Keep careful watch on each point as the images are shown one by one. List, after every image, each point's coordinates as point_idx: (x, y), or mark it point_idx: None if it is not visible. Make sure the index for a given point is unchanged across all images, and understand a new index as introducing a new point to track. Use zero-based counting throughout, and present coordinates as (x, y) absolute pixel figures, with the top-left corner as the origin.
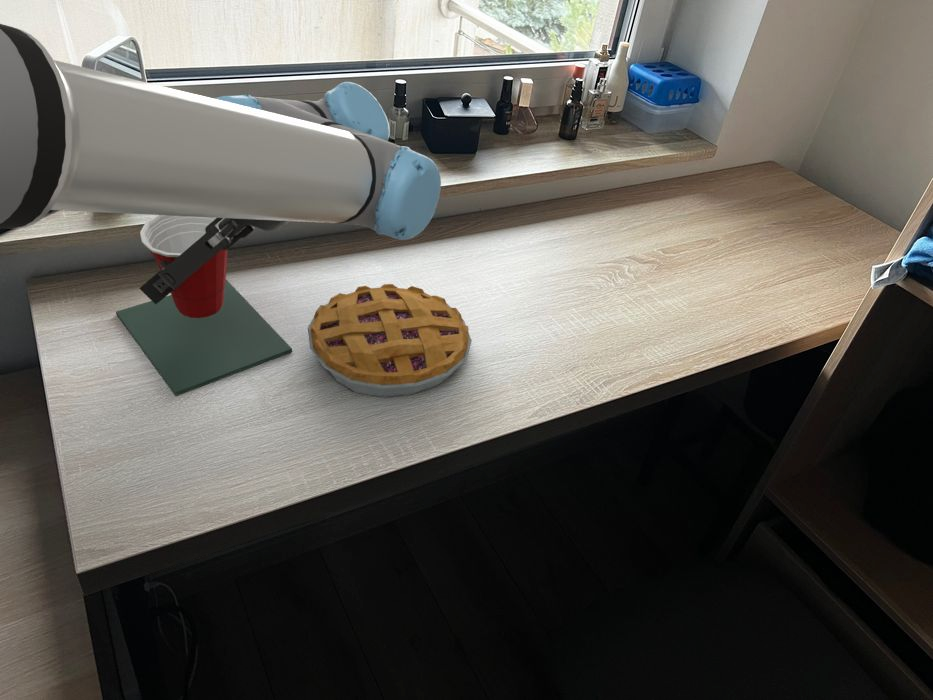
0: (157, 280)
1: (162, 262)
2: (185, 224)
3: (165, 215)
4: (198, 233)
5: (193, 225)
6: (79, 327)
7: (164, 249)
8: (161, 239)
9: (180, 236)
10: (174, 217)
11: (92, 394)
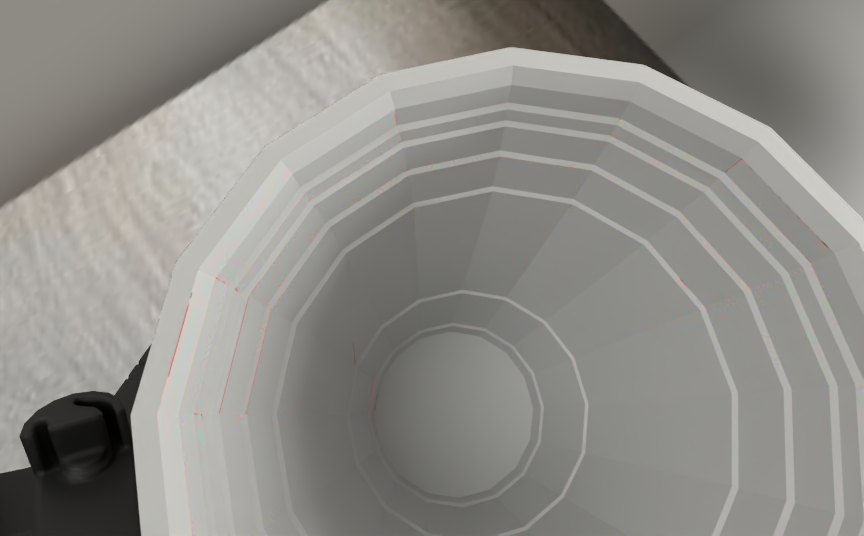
0: (131, 372)
1: (23, 441)
2: (710, 257)
3: (674, 121)
4: (705, 343)
5: (737, 303)
6: (349, 81)
7: (506, 220)
8: (526, 185)
9: (634, 252)
10: (709, 176)
11: (81, 257)
